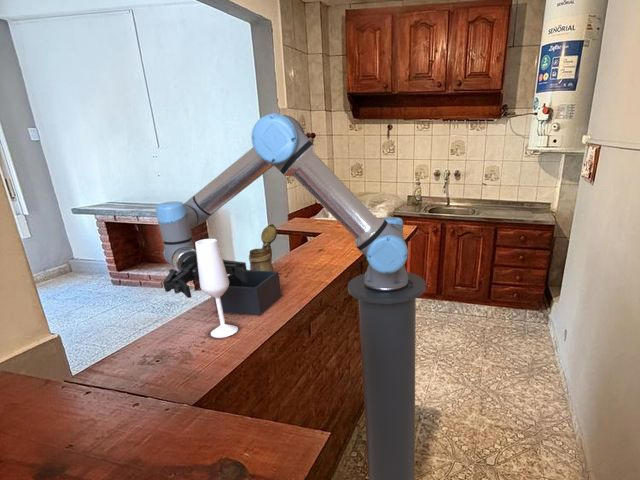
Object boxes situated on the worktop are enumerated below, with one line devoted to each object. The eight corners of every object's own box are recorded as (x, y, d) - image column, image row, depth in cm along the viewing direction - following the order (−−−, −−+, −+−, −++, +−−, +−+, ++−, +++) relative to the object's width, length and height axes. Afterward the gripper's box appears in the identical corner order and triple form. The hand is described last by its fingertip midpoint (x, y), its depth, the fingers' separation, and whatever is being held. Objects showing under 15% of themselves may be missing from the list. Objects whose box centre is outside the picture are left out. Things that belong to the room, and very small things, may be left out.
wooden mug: (290, 274, 140) (283, 224, 134) (266, 288, 129) (258, 234, 122) (269, 272, 144) (262, 223, 137) (244, 285, 132) (235, 232, 125)
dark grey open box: (281, 295, 123) (278, 271, 120) (260, 315, 111) (256, 288, 108) (241, 293, 126) (237, 269, 123) (216, 311, 113) (211, 286, 110)
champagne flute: (221, 340, 98) (202, 246, 89) (204, 333, 102) (184, 243, 93) (243, 328, 103) (227, 239, 94) (227, 322, 107) (209, 236, 98)
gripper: (237, 266, 119) (269, 285, 104) (144, 288, 104) (165, 314, 89) (233, 242, 116) (264, 258, 101) (137, 261, 101) (157, 283, 86)
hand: (218, 284), depth 95 cm, fingers open, 13 cm apart
